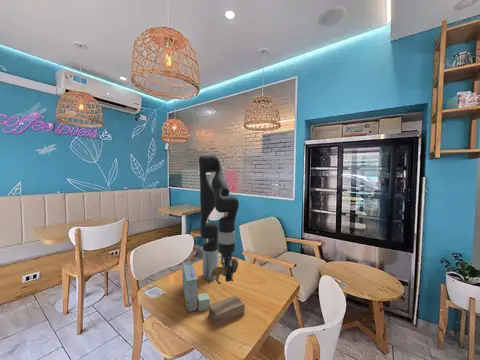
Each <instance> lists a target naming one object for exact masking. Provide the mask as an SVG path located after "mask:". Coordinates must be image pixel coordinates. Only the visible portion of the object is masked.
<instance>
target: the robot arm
mask: <svg viewBox="0 0 480 360" xmlns="http://www.w3.org/2000/svg"><path fill="white" fill-rule="evenodd" d="M198 169H199V170H198V171H199V183H200V185H199V187H200V190H199V196H200V197H199V198H200V200H199V203H200V229H199V230H200V237H201V238H202V239H211V240H209V241H207V242H205V243H203V246H202V278H203V279H204V280H206V281H210V278H211V273H212V271H213V269H214V268H215V267H219V253H220V265H221V267H225V271H226V272H225V273H226V275H222V277H225V282H226V283H228V282H232V281H231V273H233V266H234V261H232V259H233V256H232V254H233V253H234V252H235V251H236V233H235V232H236V231H235V225H236V224H235V223H236V218H237V214H238V210H239V207H240V205H239V204H240V203H239V199H238V197H236V196H234V195H230V189H229V187H228V185H227V182H226V180H225V178H224V177H225V176H224V173H223V168H222V164H221V161H220V158H219V157H218V156H217V155H200V156H199V158H198ZM207 173H215V175H214V176H213V178H212V180H211V184H210V182H209V180H208V178H207ZM214 209H215V211H216V212H218V213H227V215H225V216H222V217H220V218H219V220H218V223H217V222H207V221H208V218H209V217H210V215H211V214H212V212H213V211H214ZM233 274H234V273H233ZM212 280H213V281H214V280H216V276H214V277H213V278H212Z"/></svg>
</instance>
